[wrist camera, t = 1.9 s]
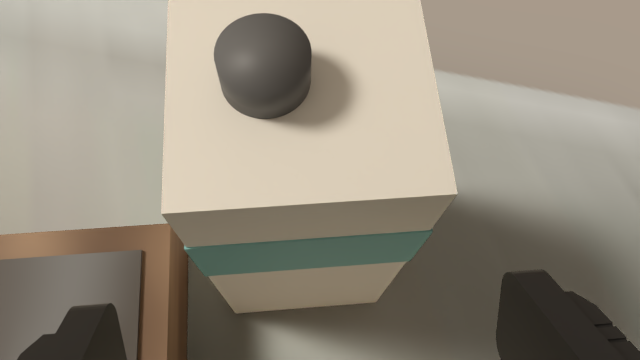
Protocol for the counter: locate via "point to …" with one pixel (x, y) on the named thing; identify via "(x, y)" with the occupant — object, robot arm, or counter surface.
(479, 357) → the counter surface
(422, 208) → the cream carton
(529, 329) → the robot arm
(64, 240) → the brown shallow square tray
